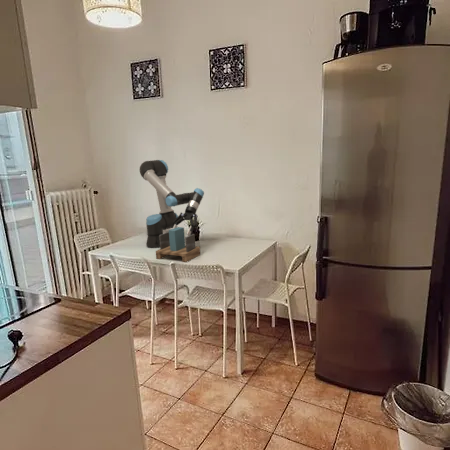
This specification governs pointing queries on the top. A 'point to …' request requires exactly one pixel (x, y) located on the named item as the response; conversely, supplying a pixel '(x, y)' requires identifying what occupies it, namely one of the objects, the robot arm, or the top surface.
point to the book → (177, 239)
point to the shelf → (186, 253)
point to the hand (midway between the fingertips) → (180, 234)
